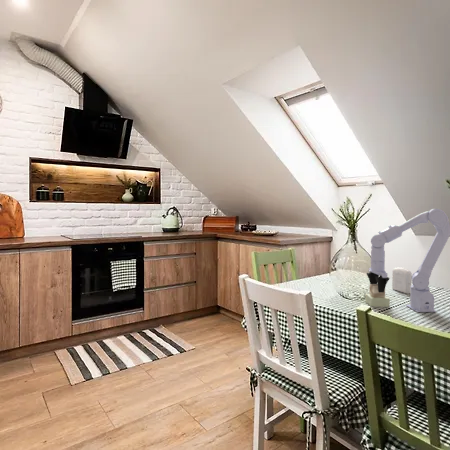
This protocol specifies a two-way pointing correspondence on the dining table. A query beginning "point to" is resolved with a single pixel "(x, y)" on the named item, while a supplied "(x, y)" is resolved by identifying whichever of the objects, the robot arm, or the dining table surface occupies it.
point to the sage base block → (377, 301)
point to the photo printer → (402, 280)
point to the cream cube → (376, 291)
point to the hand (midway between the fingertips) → (377, 290)
